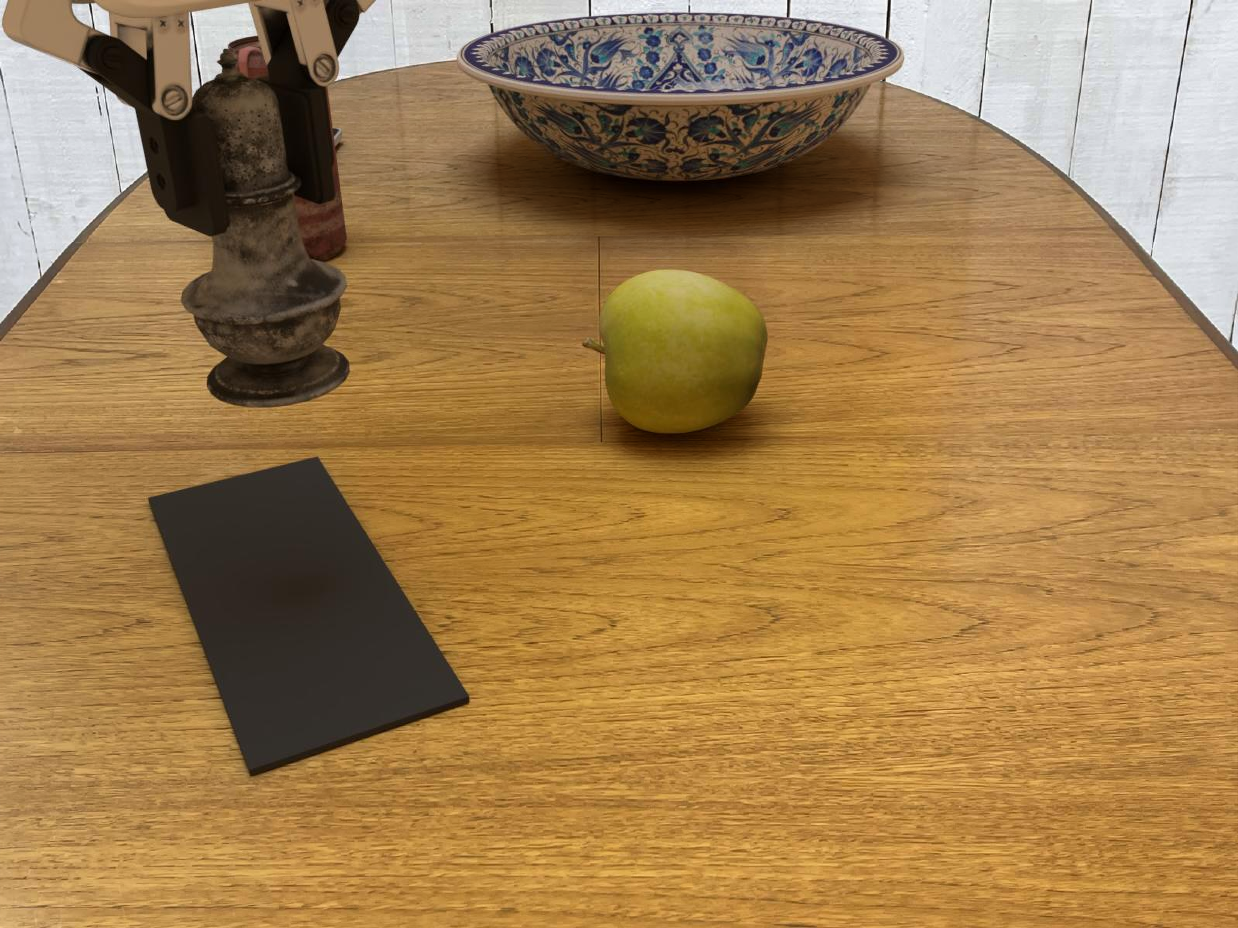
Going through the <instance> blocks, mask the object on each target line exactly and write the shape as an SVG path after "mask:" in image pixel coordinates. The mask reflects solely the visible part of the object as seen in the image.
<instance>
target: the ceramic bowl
mask: <svg viewBox="0 0 1238 928" xmlns="http://www.w3.org/2000/svg"><path fill="white" fill-rule="evenodd" d="M904 61H905V52H904V49H903V48H902V47H901V45H899V44H898V43H896V42H895V41H893V40H891V39H889V38H888V37H885V36H882V35H880V34H877V33H876V32H875V33H874V32H871V31H868V30H864V29H860V28H857V27H853V26H848V25H844V24H838V23H832V22H827V21H821V20H820V21H819V20H814V19H807V18H797V17H790V16H789V17H788V16H777V15H766V14H753V13H752V14H751V13H733V12H732V13H731V12H693V11H692V12H689V11H687V12H677V11H676V12H675V11H674V12H636V13H617V14H616V13H615V14H601V15H590V16H589V15H588V16H579V17H568V18H562V19H553V20H547V21H540V22H534V23H533V22H532V23H528V24H523V25H517V26H512V27H508V28H504V29H500V30H497V31H493V32H490V33H487V34H483V35H482V36H479V37H477V38H475V39H473V40H470V41H468V42H466V43H465V44H464V45H462V46H461V47H460V48H459V50H458V51H457V54H456V63H457V67H458V68H459V70H460V71H461V72H462V73H464V74H465V75H466V76H467V77H470V78H472V79H474V80H476V81H478V82H481V83H483V84H485V85H488V88H489V90H490V92H491V94H492V96H493V97H494V99H495V100H496V102H497V104H498V105H499V106H500V108H501V109H502V111H503V112H504V113H505V115H506V116H507V117H508V119H509V120H510V121H511V122H512V124H514V126H516V128H518V129H519V130H520V131H521V132H522V133H523V134H524V135H525V136H527V138H529V140H531V141H532V142H534V143H535V144H536V145H538V146H539V147H540V148H542V149H543V150H545V151H547V152H548V153H550V154H551V155H553V156H554V157H556V158H558V159H560V160H563V161H564V162H567V163H569V164H572V165H574V166H577V167H579V168H583V169H587V170H590V171H593V172H596V173H599V174H605V175H611V176H615V177H622V178H627V179H628V178H629V179H637V180H649V181H668V182H688V181H690V182H691V181H705V180H706V181H707V180H720V179H727V178H734V177H741V176H745V175H752V174H755V173H758V172H759V173H760V172H762V171H766V170H770V169H773V168H777V167H780V166H782V165H785V164H788V163H790V162H792V161H794V160H796V159H798V158H801V157H802V156H804V155H805V154H808V153H809V152H811V151H812V150H814V149H815V148H816V147H818V146H819V145H821V144H823V143H824V142H825V141H826V140H828V139H829V138H830V137H832V135H834V134H835V133H836V132H837V131H838V130H839V129H840V128H841V127H842V126H843V125H844V124H845V123H846V121H848V120H849V119H850V117H851V116H852V115H853V114H854V112H855V111H856V110H857V109H858V107H859V106H860V104H861V103H862V101H864V98H865V97H866V95H867V93H868V92H869V89H870V88H871V86H872V84H875V83H878V82H881V81H883V80H885V79H887V78H890V77H891V76H893V75H895V74H896V73H898V72H899V70H900V69H902V67H903V64H904Z"/></svg>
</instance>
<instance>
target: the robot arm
mask: <svg viewBox="0 0 1238 928" xmlns="http://www.w3.org/2000/svg"><path fill="white" fill-rule="evenodd" d="M376 1H377V0H7V1H6V5H5V8H4V12H3V15H2V18H1V19H2V20H1V27H2V30H3V33H4V34H5V35H6V37H7V38H8V39H10V40H11V41H13V42H14V43H17V44H20V45H22V46H25V47H26V48H29V49H31V50H34V51H37V52H39V53H42V54H45V55H47V56H49V57H52V58H54V59H55V60H59V61H61V62H64V63H67V64H69V65H72V66H73V67H76V68H77V69H78V70H80V71H81V72H83V73H84V74H86V75H87V76H88V77H90V78H91V79H93V80H94V81H95V82H97V83H98V84H100V85H101V86H103V87H104V88H105V89H107V91H109V92H111V93H112V94H114V95H115V96H116V98H117V100H118V101H119V102H120V103H122V104H124V105H125V106H128V107H131V108H133V109H134V112H135V116H136V121H137V126H138V131H139V137H140V141H141V146H142V151H143V155H144V156H143V157H144V160H145V166H146V170H147V176H148V180H149V185H150V189H151V193H152V196H153V198H154V201H155V202H156V204H157V205H158V206H159V207H160V208H161V209H162V210H163V211H164V214H165V215H166V217H167V218H168V220H170V222H171V221H172V222H174V223H176V224H178V225H180V226H183V227H186V228H188V229H190V230H192V231H194V232H197V233H201V234H202V235H205V236H207V237H210V238H212V236H215V235H219V234H222V233H225V232H226V231H227V228H228V227H229V226H230V218H229V212H228V206H227V200H226V195H225V189H224V183H223V177H222V171H221V166H220V160H219V154H218V148H217V143H216V137H215V131H214V126H213V123H212V120H211V119H210V118H209V117H208V115H205V114H202V113H199V112H195V111H194V105H193V99H192V97H193V78H192V77H193V76H192V56H191V30H190V13H194V12H202V11H207V10H212V9H219V8H225V7H231V6H238V5H242V4H243V5H244V4H248V7H249V10H250V14H251V17H252V22H253V25H254V28H255V31H256V36H257V35H258V39H259V42H260V46H261V49H262V53H263V56H264V60H265V63H266V65H267V70H268V76H263V77H259V78H256V79H258V80H260V81H262V82H263V83H265V84H267V85H268V86H269V87H270V88H271V89H272V90H273V91H274V92H275V94H276V97H277V100H278V104H279V110H280V117H281V124H282V131H283V138H284V145H285V151H286V158H287V165H288V171H290V172H292V173H294V174H296V175H297V176H298V177H300V178H301V186H300V187H299V188H298V190H297V191H295V192H294V196H297V197H300V198H303V199H305V200H308V201H311V202H314V203H317V204H323V203H326V202H330V201H333V200H334V199H335V187H334V179H333V171H332V167H333V165H334V150H333V142H332V134H331V126H330V119H329V111H328V103H327V95H326V87H325V86H327V87H329V86H331V85H333V84H334V83H335V81H336V80H337V78H338V77H339V74H340V63H339V59H338V58H340V57H339V56H340V55H341V53H342V51H343V50H344V48H345V46H346V45H347V43H348V42H349V39H350V38H351V36H352V34H353V33H354V31H355V29H356V28H357V25H358V23H359V21H360V16H361V14H362V13H363V14H365V13H366V12H367V11H368V10H369V9H370V8H371V6H372V5H373V4H375V2H376ZM92 4H96V5H97V6H98V7H99V8H100V9H102V10H104V11H105V12H108V20H109V34H108V33H105V32H102V31H100V30H98V29H96V28H95V27H92V26H91V25H88V24H86V23H83V22H82V21H80V20H79V19H78V18H77V16H76V15H75V13H74V10H73V5H92Z"/></svg>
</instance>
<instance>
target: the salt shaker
mask: <svg viewBox="0 0 1238 928" xmlns="http://www.w3.org/2000/svg"><path fill="white" fill-rule="evenodd" d="M238 61H239V60H238V59H234V55H233V54H232V53H231V52H229V50H228V48H223V49H222V52H221V53H220V54H219V59H218V60H217V61H216V63H217V64H218V65H220V67H221V72H220V73H218V74H216V75H215V77H214V78H213V79H211V80H208V81H206V82H204V83H202V85H201V86H199V87H198V88H197V89H196V90H195V92H194V93H193V94H192V99H193V105H194V111H195V112H199V113H202V114H205V115H208V117H209V118H210V119H211V120H212V123H213V126H214V131H215V137H216V143H217V148H218V154H219V160H220V166H221V171H222V177H223V183H224V189H225V195H226V200H227V206H228V212H229V218H230V226H229V227H228V228H227V231H226V232H225V233H222V234H219V235H215V236H212V237H211V240H212V241H211V242H212V265H211V270H209V271H207V272H205V273H202V274H200V275H199V276H197V277H195V278H194V279H193V280H191V281H190V282H189V283H188V284H187V285H186V286H185V288H184V289H183V290H182V291H181V297H180V303H181V305H182V306H183V308H184V310H185V311H187V312H188V313H190V314H191V315H193V319H194V323H195V326H196V327H197V329H198V330H199V332H200V333H201V335H202V336H203V338H204V339H205V340H206V342H207V343H208V345H209V346H210V347H211V348H212V349H214V350H215V351H216V352H218V353H220V354H222V355H224V356H225V358H223V359H222V360H221V361H220V362H218V363H217V364H216V365H214V366H213V368H212V369H211V370H210V372H209V373H208V374H207V376H206V388H207V390H208V392H209V394H210V395H211V396H212V397H214V398H216V399H217V400H218V401H219V402H222V403H225V404H229V405H232V406H235V407H242V408H251V409H252V408H254V409H257V408H259V409H261V408H262V409H264V408H265V409H270V408H278V407H279V408H280V407H281V408H282V407H288V406H294V405H297V404H302V403H306V402H310V401H313V400H316V399H317V398H321V397H323V396H326V395H328V394H329V393H331V392H332V391H335V390H336V389H338V388H339V387H340V386H341V385H342V384H344V382H345V381H347V379H348V377H349V375H350V372H351V367H350V361H349V359H348V358H347V357H346V356H345V354H344V353H342V352H340V351H338V350H337V349H336V348H333V347H330V346H327V345H325V344H324V343H326V341H327V340H328V339H329V338H330V337H331V335H332V334H333V333H334V331H335V330H336V327H337V324H338V321H339V317H340V313H341V310H342V306H341V305H342V303H341V297H342V296H343V294H344V293H345V291H346V289H347V287H348V284H347V276H346V275H345V274H344V273H343V272H342V271H341V269H339V268H338V267H337V266H334V265H332V264H330V263H328V262H325V261H317V260H313V259H309V256H308V254H307V252H306V249H305V247H304V245H303V242H302V239H301V236H300V232H299V225H298V218H297V211H296V205H295V198H294V192H295V191H297V190H298V188H299V187H300V186H301V178H300V177H298V176H297V175H296V174H294V173H292V172H290V171H288V165H287V158H286V151H285V145H284V138H283V131H282V124H281V117H280V110H279V104H278V100H277V97H276V94H275V92H274V91H273V90H272V89H271V88H270V87H269V86H268V85H267V84H265V83H263V82H262V81H260V80H258V79H255V78H251V77H247V76H245V74H244V73H242V72H237V70H236V68H235V65H236V63H237V62H238Z"/></svg>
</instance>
